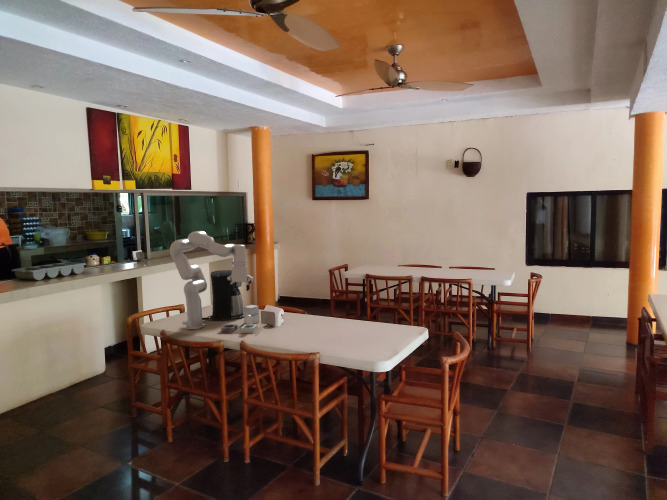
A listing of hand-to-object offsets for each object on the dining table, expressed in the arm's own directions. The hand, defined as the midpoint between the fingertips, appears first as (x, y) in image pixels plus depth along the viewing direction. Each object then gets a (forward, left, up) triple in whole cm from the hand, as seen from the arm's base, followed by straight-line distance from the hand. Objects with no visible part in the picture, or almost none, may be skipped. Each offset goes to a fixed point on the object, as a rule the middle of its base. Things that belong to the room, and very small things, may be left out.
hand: (240, 290), depth 301 cm
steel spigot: (+6, -6, -25) cm, 26 cm away
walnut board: (0, -6, -26) cm, 27 cm away
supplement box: (+2, +14, -27) cm, 30 cm away
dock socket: (+6, -6, -25) cm, 26 cm away
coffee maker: (-26, +35, -27) cm, 51 cm away
